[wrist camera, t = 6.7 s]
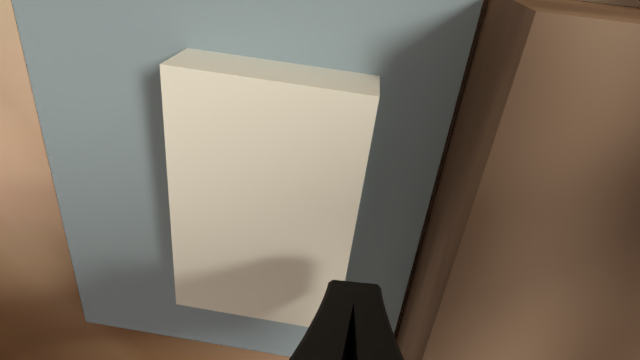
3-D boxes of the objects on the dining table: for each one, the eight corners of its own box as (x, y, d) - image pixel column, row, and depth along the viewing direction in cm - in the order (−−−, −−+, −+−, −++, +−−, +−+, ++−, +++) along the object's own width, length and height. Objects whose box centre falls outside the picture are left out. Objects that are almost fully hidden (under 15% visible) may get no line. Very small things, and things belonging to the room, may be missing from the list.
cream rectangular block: (159, 64, 12) (187, 47, 14) (176, 304, 16) (195, 268, 18) (379, 97, 12) (379, 75, 13) (335, 331, 16) (339, 293, 18)
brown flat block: (913, 41, 12) (1142, 86, 8) (635, 409, 19) (690, 512, 16) (491, -10, 12) (535, 11, 9) (388, 367, 20) (389, 458, 17)
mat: (483, -11, 12) (486, -10, 12) (383, 366, 20) (383, 372, 20) (3, -70, 13) (-5, -71, 13) (89, 317, 21) (85, 321, 20)
